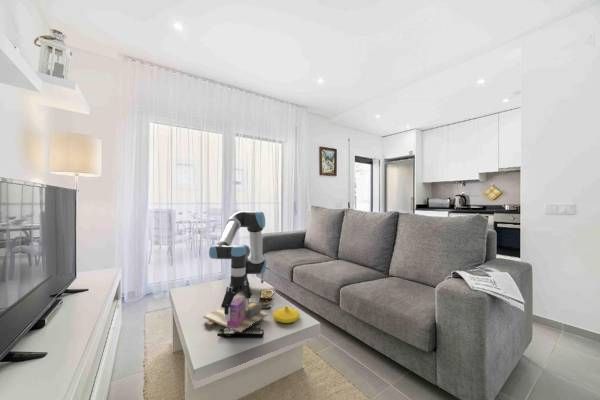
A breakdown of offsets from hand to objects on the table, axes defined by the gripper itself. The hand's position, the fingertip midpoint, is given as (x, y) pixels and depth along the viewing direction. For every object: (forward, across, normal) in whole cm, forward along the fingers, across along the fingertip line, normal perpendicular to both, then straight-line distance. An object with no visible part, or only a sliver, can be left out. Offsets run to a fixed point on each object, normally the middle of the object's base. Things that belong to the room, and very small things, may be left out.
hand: (237, 314), depth 130 cm
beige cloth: (+8, -5, -7) cm, 12 cm away
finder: (+4, -12, -1) cm, 12 cm away
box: (+4, 0, 0) cm, 4 cm away
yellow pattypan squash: (+8, -24, +16) cm, 30 cm away
